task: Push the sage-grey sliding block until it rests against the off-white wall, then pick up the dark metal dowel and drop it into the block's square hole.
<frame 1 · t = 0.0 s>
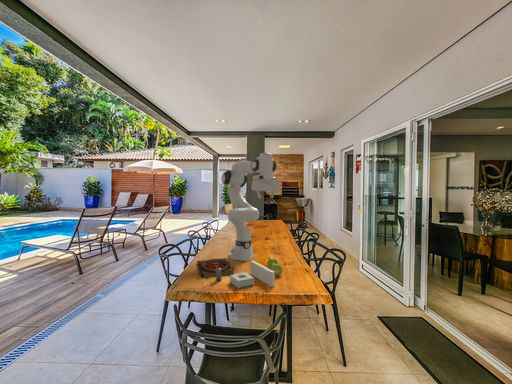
hand: (265, 197, 166), 48 cm above the table, fingers open, 8 cm apart
dumbbell: (274, 272, 164), on the table
dowel: (218, 280, 148), on the table
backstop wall: (261, 279, 151), on the table
sliding block: (242, 279, 144), point 2 cm above the table, slide at 7.0 cm
book: (215, 269, 169), on the table
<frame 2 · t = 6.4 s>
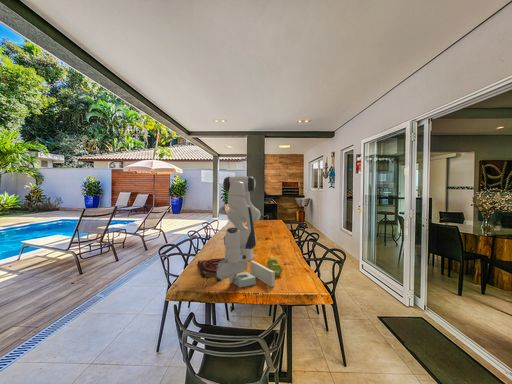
hand: (232, 282, 141), 2 cm above the table, fingers closed
sliding block: (243, 279, 144), point 2 cm above the table, slide at 5.9 cm, touching gripper
everything else where it was.
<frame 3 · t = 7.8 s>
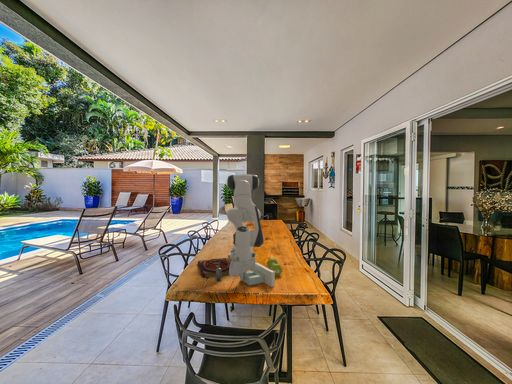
hand: (242, 279, 144), 2 cm above the table, fingers closed
sliding block: (252, 277, 147), point 2 cm above the table, slide at -0.1 cm, touching gripper
everything else where it was.
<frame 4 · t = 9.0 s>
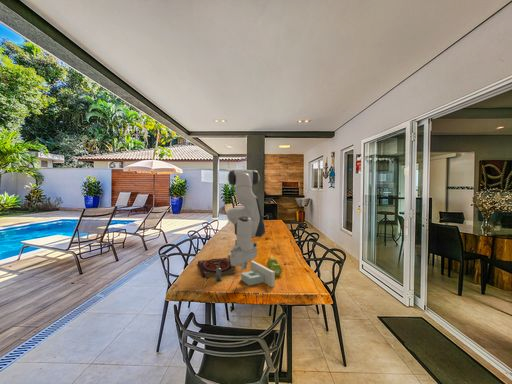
hand: (244, 269, 145), 8 cm above the table, fingers closed
sliding block: (252, 277, 147), point 2 cm above the table, slide at 0.0 cm
everything else where it was.
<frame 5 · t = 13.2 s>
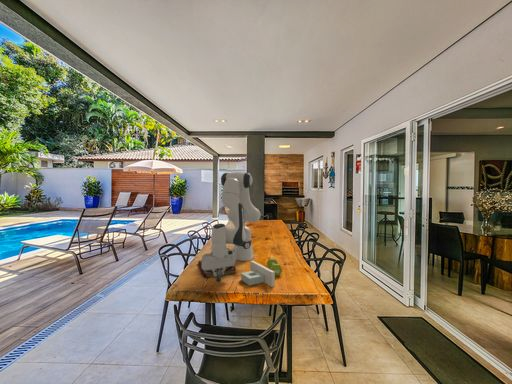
hand: (218, 275, 148), 3 cm above the table, fingers closed on dowel, 3 cm apart
dowel: (218, 280, 148), on the table, touching gripper
everything else where it was.
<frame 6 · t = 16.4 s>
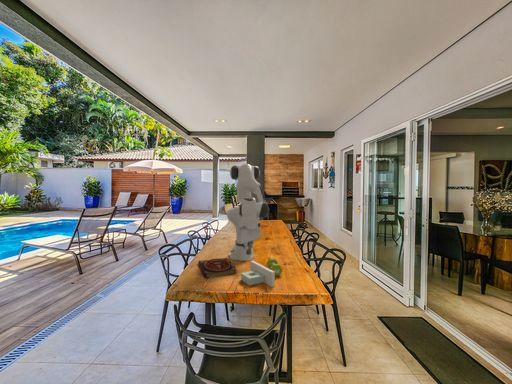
hand: (248, 248, 147), 19 cm above the table, fingers closed on dowel, 3 cm apart
dowel: (248, 254, 147), point 16 cm above the table, touching gripper
when the fingers open (5 cm above the table, at t = 19.6 s): dowel drops 2 cm, resting in sliding block.
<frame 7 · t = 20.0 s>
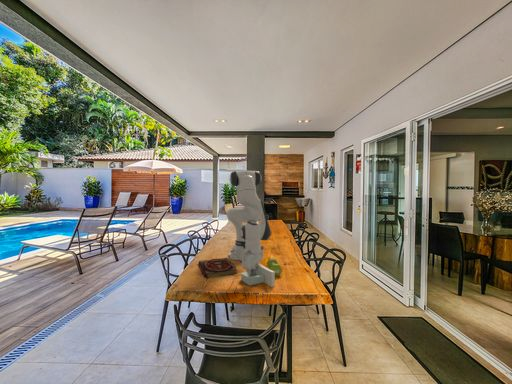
hand: (252, 272, 147), 5 cm above the table, fingers open, 7 cm apart
dowel: (252, 281, 147), resting in sliding block
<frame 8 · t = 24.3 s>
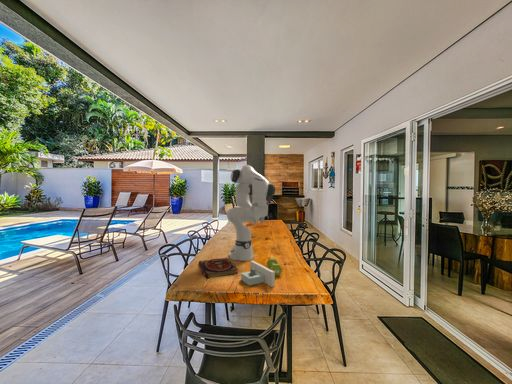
hand: (258, 224, 163), 31 cm above the table, fingers open, 8 cm apart
at the end: dowel 0.1 cm from the target spot, resting in sliding block; sliding block slide at 0.0 cm; dowel tilted 0° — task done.
